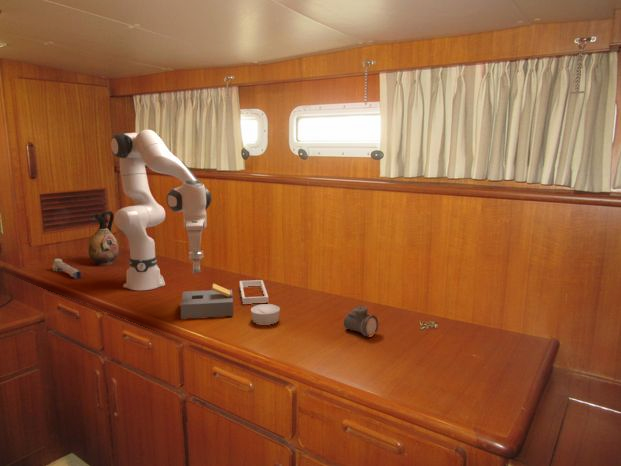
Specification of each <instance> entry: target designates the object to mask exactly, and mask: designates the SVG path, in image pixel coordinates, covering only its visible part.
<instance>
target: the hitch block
mask: <svg viewBox="0 0 621 466" xmlns="http://www.w3.org/2000/svg"><path fill="white" fill-rule="evenodd" d="M229 290H232V291H233V289H229ZM181 296H182V297H181V301H180V320H186V319H185V318H197V319H204V318H203V317H214V318H224V317H223V316H232V317H234V298H233V297H234V296H233V297H232V298H230V297H228V296H225V295H223V294H220V293H218V292H216V291H213V290H212V289H211V290H191V291H188V290H187V291H183V292H182V295H181Z"/></svg>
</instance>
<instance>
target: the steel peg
mask: <svg viewBox="0 0 621 466" xmlns="http://www.w3.org/2000/svg"><path fill="white" fill-rule="evenodd" d="M188 259H189V260H192V273H193V274H200V273H201V260H203V259H204V251H203V250H198V259H194V258H193V250H190V251H188Z"/></svg>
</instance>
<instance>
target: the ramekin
mask: <svg viewBox="0 0 621 466" xmlns="http://www.w3.org/2000/svg"><path fill="white" fill-rule="evenodd" d="M280 312H281V308H280V306H277V305H275V304H272V303H268V304H255V305H254V306H253V307H251V308H250V314H251V317H252V321H253V323H254V324H255V323H256V324H255V325H257V324H259V325H258V326H260V325H269V326H271V325H270V324H273V325H275V324H276V323H277V322H278V321H279V317H280ZM274 323H275V324H274Z"/></svg>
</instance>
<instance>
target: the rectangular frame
mask: <svg viewBox="0 0 621 466" xmlns="http://www.w3.org/2000/svg"><path fill="white" fill-rule="evenodd" d="M248 286H261V287H260V289H261V288H262V289H261V292H262V291H263V293H262V296H248V297H247V296H246V295H245V292H244V288H249V287H248ZM239 291H241V292H240V297H242V298H241V302H243V303H242V305H243V304H251V305H253V304H252V303H266V302H268V303H269V295H268V292H267V289H266V285H265V283H264V280H263V279H260V280H259V279H255V280H239ZM263 294H264V296H263Z"/></svg>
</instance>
